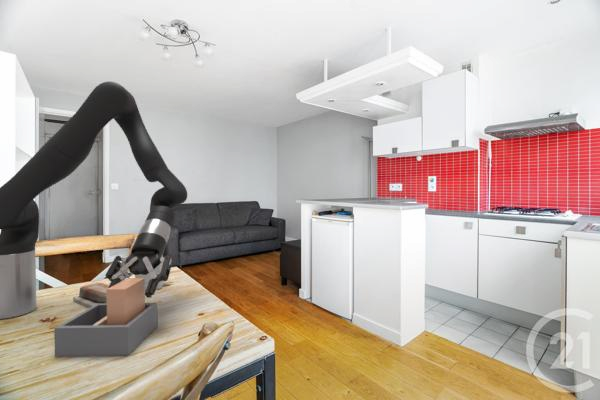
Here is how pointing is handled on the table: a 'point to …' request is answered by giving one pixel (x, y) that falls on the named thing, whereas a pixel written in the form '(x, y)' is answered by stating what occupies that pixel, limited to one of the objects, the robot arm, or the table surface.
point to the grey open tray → (103, 333)
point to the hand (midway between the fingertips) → (129, 296)
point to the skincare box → (148, 278)
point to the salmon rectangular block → (125, 301)
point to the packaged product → (92, 295)
